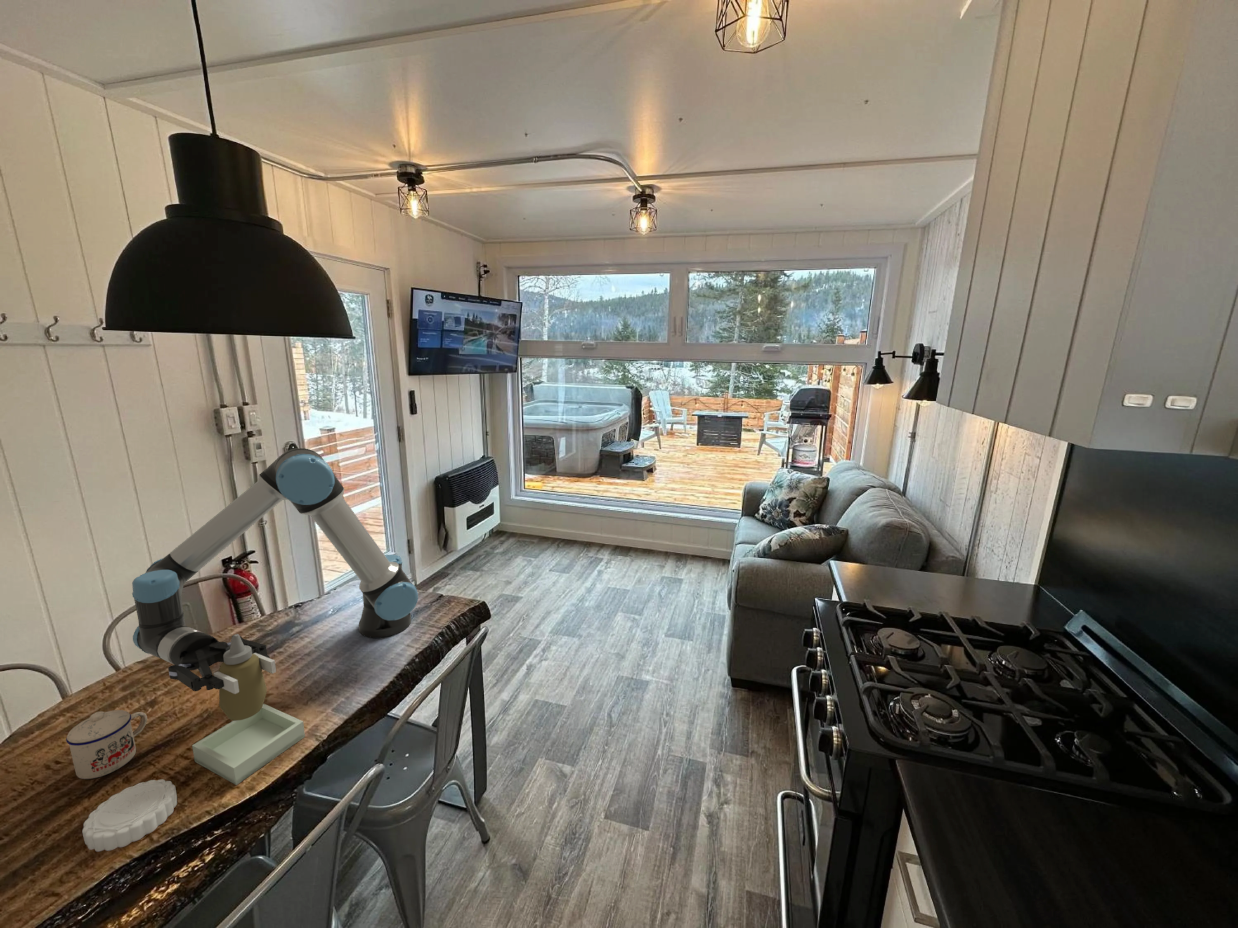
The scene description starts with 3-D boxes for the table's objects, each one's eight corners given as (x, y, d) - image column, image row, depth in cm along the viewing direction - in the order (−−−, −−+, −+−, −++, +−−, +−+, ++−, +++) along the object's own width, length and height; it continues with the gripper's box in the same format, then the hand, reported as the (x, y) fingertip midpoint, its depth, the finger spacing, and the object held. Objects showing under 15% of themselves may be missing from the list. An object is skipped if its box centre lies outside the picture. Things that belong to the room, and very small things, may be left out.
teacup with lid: (94, 785, 94) (82, 734, 92) (62, 774, 96) (51, 724, 94) (164, 741, 106) (156, 694, 103) (135, 732, 108) (126, 686, 106)
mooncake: (195, 793, 94) (192, 778, 93) (130, 855, 82) (127, 837, 81) (136, 789, 94) (132, 774, 93) (64, 850, 82) (59, 833, 82)
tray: (264, 717, 113) (262, 703, 112) (305, 736, 108) (303, 721, 107) (194, 761, 101) (191, 745, 100) (236, 784, 95) (233, 767, 95)
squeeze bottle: (211, 718, 100) (200, 641, 96) (252, 694, 108) (243, 622, 104) (238, 729, 97) (226, 650, 94) (277, 704, 105) (268, 630, 101)
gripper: (239, 641, 117) (303, 666, 108) (136, 689, 99) (202, 723, 90) (235, 613, 115) (300, 636, 107) (130, 656, 97) (197, 688, 89)
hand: (255, 676), depth 99 cm, fingers closed on squeeze bottle, 6 cm apart
